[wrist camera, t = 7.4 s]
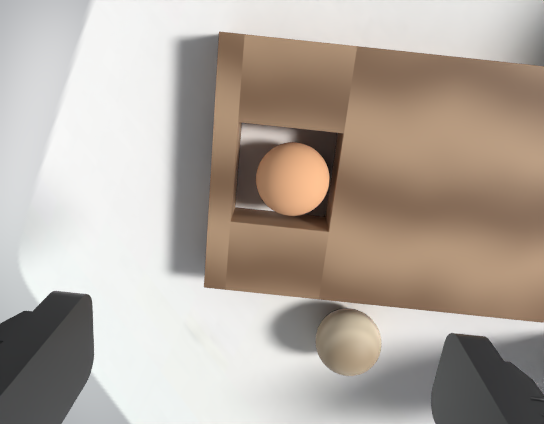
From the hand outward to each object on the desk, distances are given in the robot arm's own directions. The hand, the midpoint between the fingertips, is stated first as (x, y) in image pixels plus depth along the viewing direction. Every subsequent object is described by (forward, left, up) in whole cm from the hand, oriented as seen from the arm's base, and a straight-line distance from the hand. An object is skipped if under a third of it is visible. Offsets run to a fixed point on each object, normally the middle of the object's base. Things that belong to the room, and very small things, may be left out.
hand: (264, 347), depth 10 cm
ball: (0, -1, -16) cm, 16 cm away
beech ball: (+10, +5, -18) cm, 21 cm away
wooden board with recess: (0, +6, -18) cm, 19 cm away
